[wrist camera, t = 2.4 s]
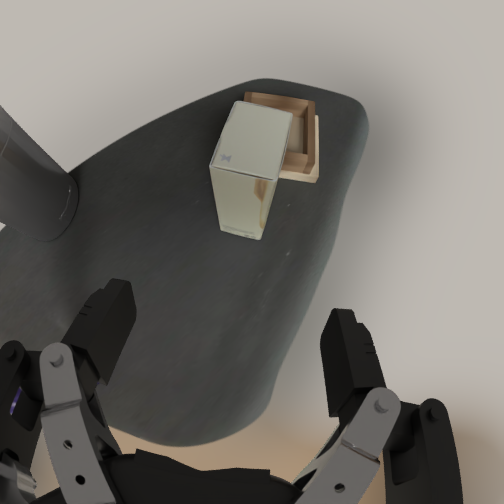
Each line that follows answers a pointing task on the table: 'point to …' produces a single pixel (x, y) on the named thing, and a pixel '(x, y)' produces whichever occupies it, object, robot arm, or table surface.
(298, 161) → the wooden tray
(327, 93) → the table surface
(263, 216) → the skincare box
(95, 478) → the robot arm
